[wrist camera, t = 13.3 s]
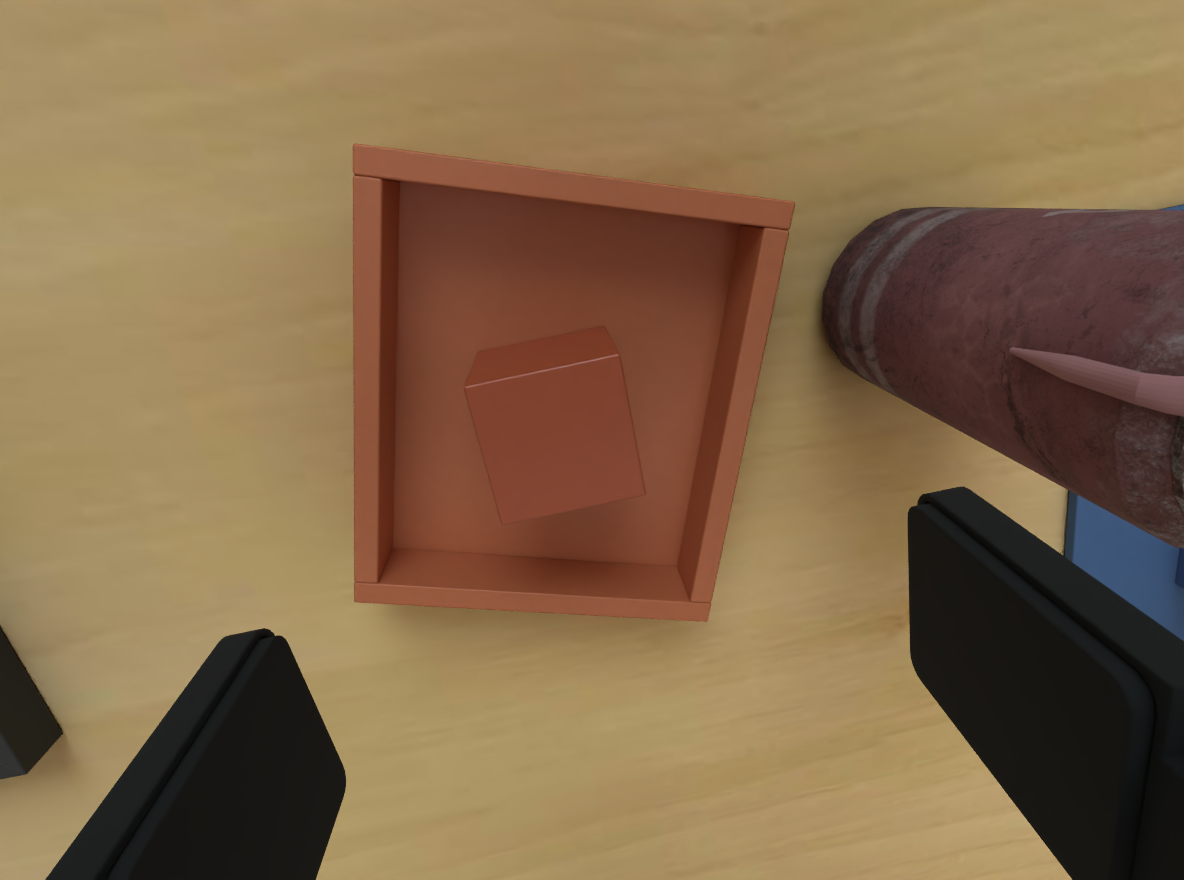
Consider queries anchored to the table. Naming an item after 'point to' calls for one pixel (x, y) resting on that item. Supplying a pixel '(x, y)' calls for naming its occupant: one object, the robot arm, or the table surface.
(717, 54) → the table surface
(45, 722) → the picture frame
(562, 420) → the terracotta block
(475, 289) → the terracotta tray
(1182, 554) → the blue block
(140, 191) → the table surface
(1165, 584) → the blue mat
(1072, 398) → the can
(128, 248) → the table surface
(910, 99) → the table surface
